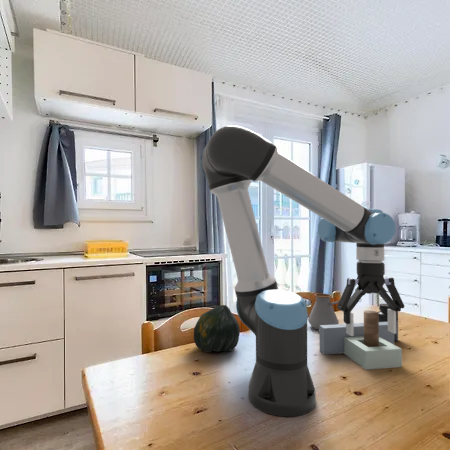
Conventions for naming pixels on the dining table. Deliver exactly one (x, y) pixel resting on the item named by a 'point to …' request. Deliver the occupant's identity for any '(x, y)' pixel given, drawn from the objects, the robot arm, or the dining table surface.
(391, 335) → the wall
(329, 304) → the coffee pot
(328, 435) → the dining table surface
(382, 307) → the supplement bottle
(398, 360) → the socket block
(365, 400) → the dining table surface
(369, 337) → the dowel
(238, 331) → the squash
